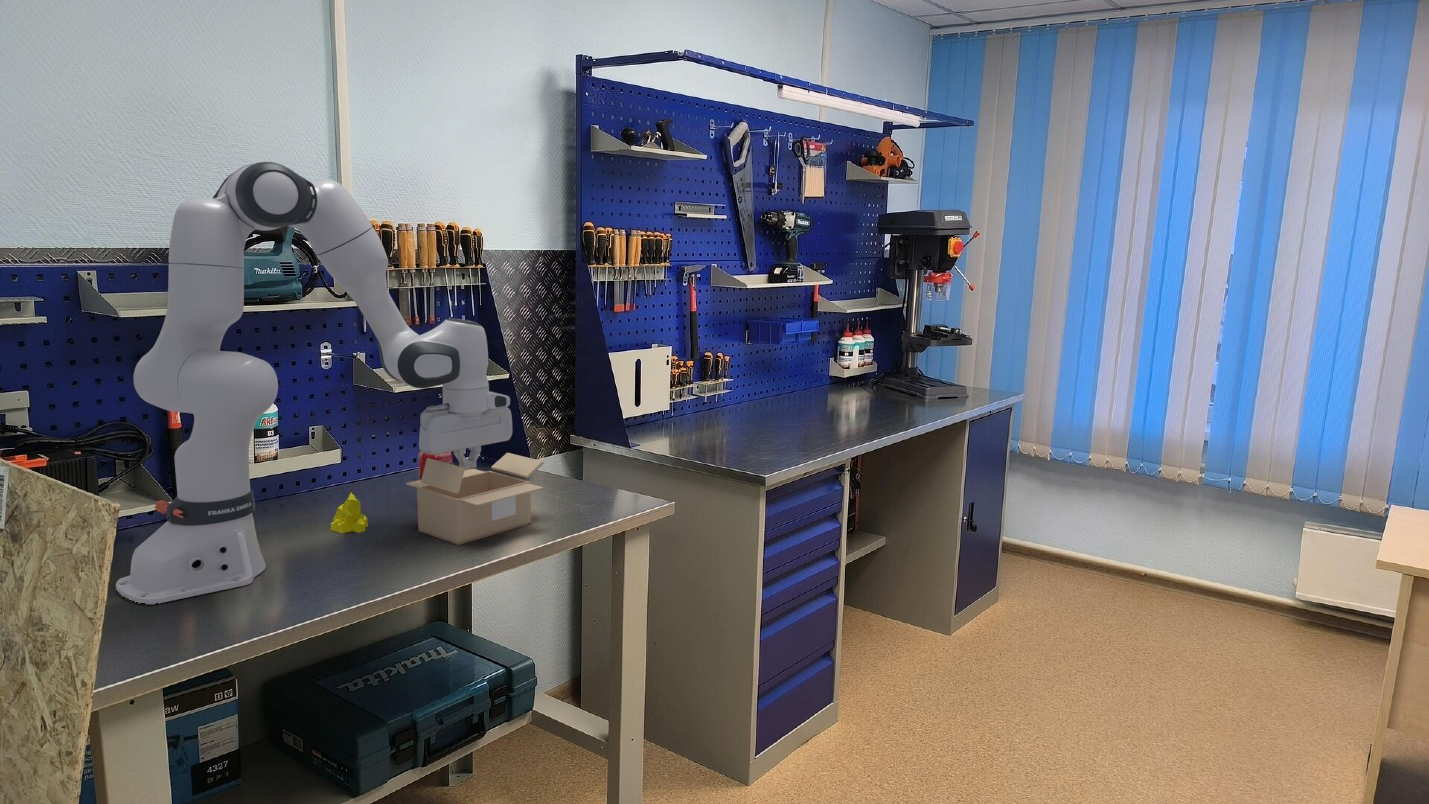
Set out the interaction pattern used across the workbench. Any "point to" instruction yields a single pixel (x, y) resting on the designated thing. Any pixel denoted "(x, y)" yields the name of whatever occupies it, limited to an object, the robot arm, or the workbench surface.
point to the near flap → (442, 475)
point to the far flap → (517, 465)
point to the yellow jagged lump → (349, 517)
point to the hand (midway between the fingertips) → (467, 469)
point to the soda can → (439, 457)
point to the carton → (474, 506)
